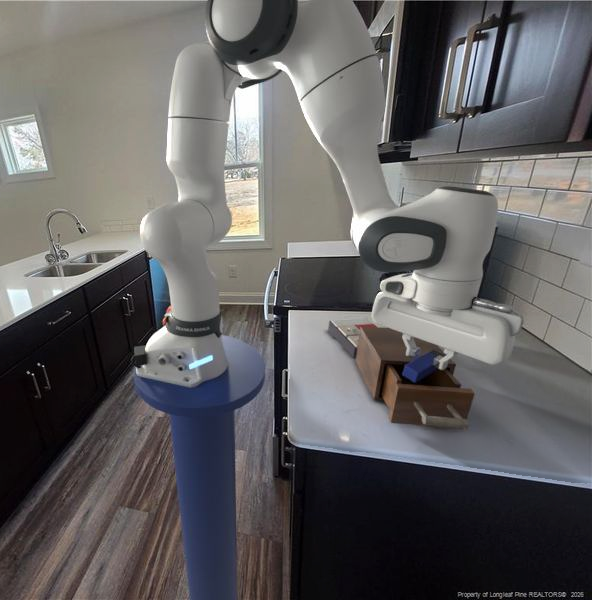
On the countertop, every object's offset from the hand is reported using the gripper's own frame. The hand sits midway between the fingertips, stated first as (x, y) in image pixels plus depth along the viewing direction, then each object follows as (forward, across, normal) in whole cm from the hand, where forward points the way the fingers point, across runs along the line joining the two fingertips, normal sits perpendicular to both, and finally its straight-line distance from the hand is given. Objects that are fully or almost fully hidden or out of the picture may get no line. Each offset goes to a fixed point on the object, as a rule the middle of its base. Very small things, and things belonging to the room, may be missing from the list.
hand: (425, 361), depth 57 cm
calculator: (+11, +22, -15) cm, 29 cm away
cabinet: (+11, +7, -6) cm, 15 cm away
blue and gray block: (+2, 0, 0) cm, 2 cm away
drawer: (+10, -1, +1) cm, 10 cm away
